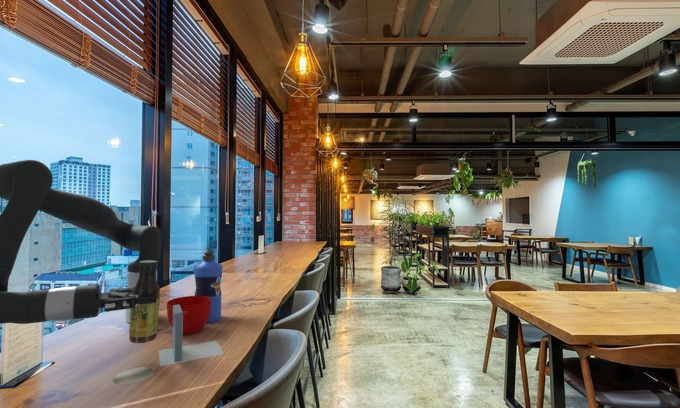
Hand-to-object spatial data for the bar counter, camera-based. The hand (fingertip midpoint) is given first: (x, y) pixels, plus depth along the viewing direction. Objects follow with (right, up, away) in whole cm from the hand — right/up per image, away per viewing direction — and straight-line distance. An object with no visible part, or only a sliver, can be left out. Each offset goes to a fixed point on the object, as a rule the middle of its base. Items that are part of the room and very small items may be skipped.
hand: (155, 295), depth 86 cm
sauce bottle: (-2, -11, -1) cm, 11 cm away
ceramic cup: (0, -17, +18) cm, 25 cm away
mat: (+7, -17, +4) cm, 19 cm away
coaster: (0, -16, -9) cm, 19 cm away
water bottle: (0, -18, +33) cm, 38 cm away
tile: (+4, -16, +2) cm, 17 cm away
